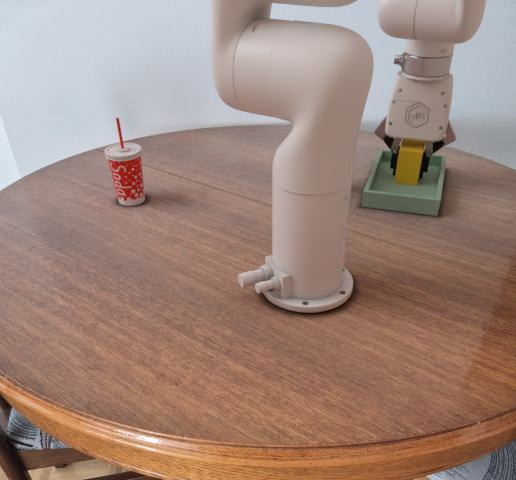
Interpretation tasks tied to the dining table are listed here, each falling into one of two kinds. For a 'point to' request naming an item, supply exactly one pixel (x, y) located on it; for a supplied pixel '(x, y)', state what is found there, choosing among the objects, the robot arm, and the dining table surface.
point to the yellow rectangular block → (409, 162)
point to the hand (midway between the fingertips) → (408, 172)
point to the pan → (404, 187)
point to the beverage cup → (126, 170)
